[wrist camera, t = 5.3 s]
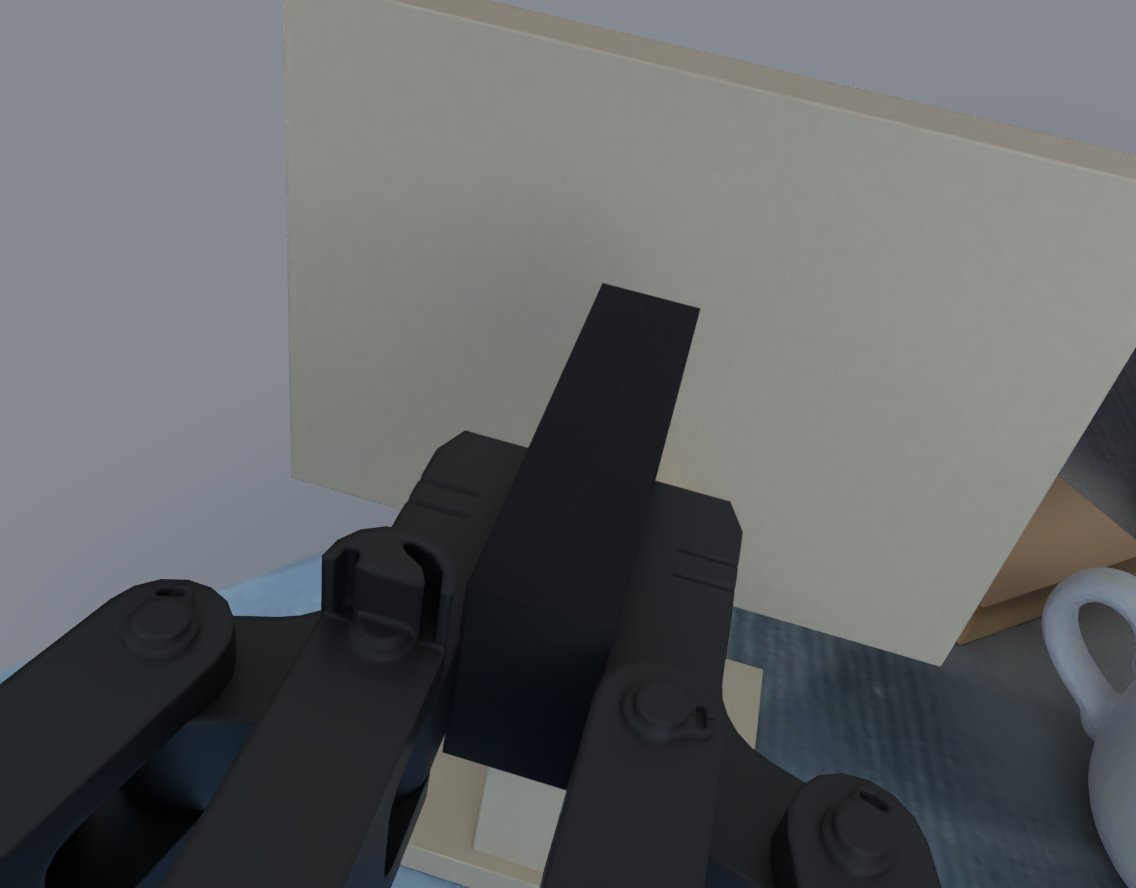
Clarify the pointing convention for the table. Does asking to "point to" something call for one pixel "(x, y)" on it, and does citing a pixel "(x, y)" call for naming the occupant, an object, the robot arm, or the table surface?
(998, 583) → the tan block
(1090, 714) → the teacup
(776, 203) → the panel
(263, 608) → the table surface
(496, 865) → the monitor stand
